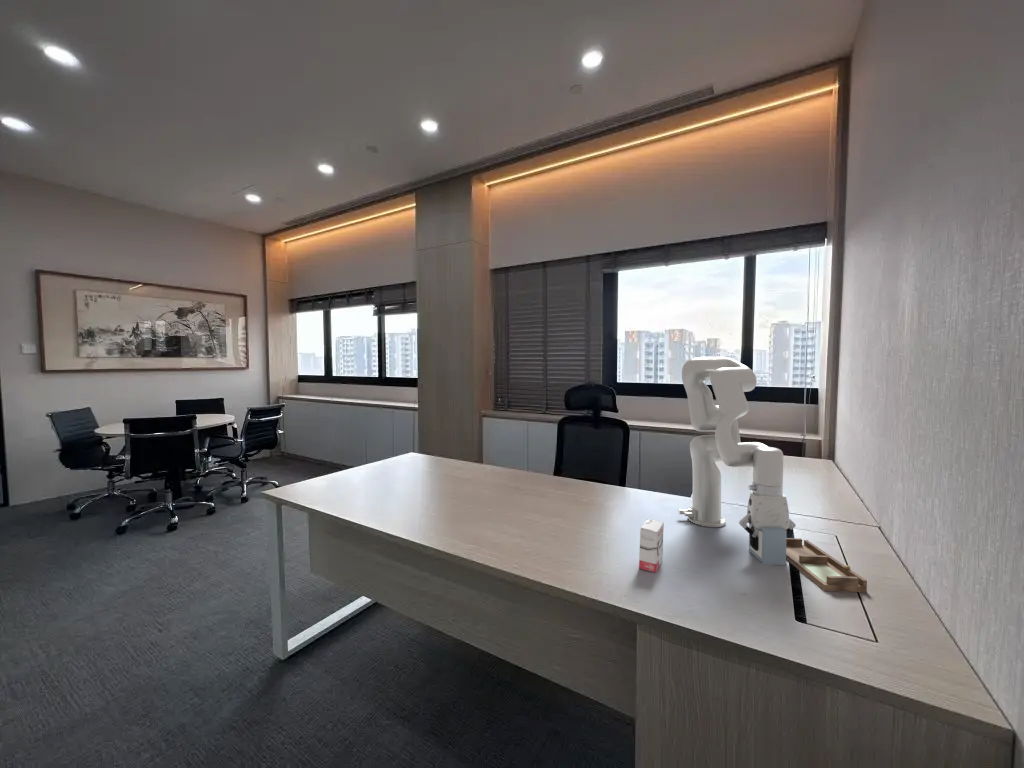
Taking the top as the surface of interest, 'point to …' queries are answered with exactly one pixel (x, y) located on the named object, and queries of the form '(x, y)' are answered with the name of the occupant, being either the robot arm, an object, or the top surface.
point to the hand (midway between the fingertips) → (766, 548)
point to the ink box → (651, 545)
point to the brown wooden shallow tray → (823, 567)
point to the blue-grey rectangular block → (771, 546)
